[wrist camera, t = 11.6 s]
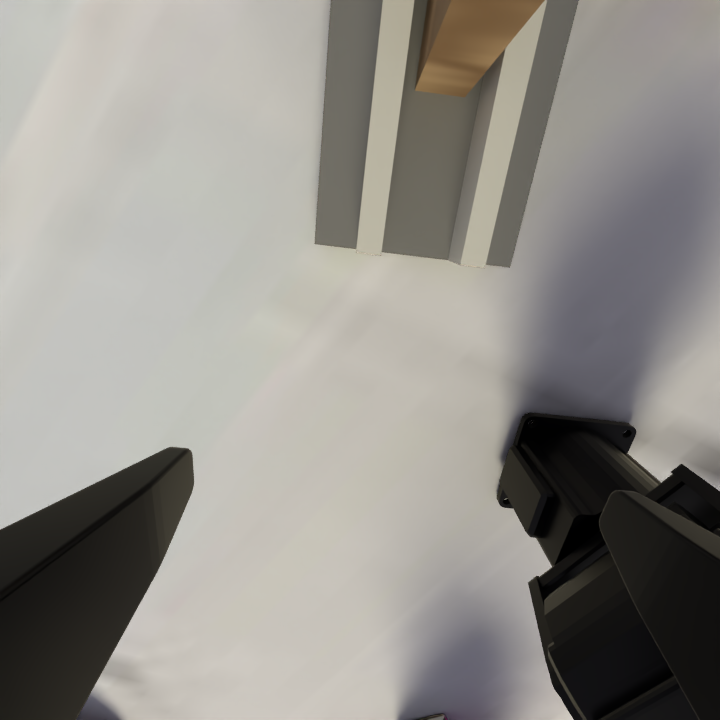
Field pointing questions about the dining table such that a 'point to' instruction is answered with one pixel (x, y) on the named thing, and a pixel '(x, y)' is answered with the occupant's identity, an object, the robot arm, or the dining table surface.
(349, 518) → the dining table surface
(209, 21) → the dining table surface
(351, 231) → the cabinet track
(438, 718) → the candy bar box
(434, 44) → the door panel
